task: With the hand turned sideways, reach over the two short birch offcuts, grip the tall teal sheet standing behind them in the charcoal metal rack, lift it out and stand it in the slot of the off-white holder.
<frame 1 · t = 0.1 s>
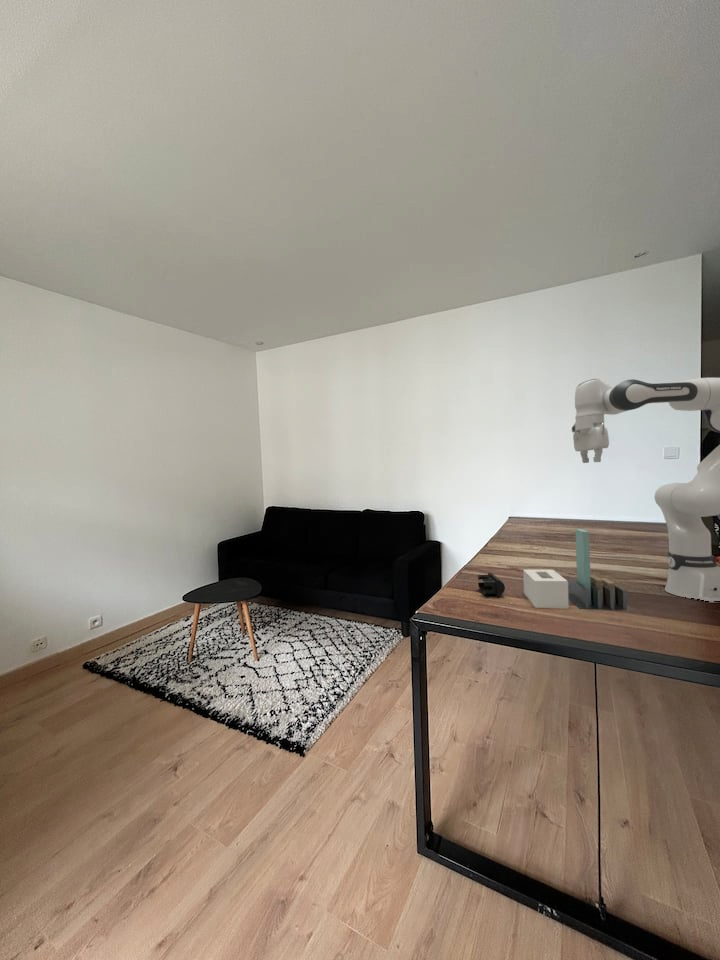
hand: (591, 462, 133), 48 cm above the table, tool pointing down, fingers open, 8 cm apart
rack: (596, 604, 122), on the table
offcut tall: (596, 601, 122), point 1 cm above the table, touching rack
holder: (545, 603, 125), on the table
tall sheet: (584, 601, 123), point 1 cm above the table, touching rack
end cap: (491, 594, 138), on the table
offcut small: (607, 601, 122), point 1 cm above the table, touching rack
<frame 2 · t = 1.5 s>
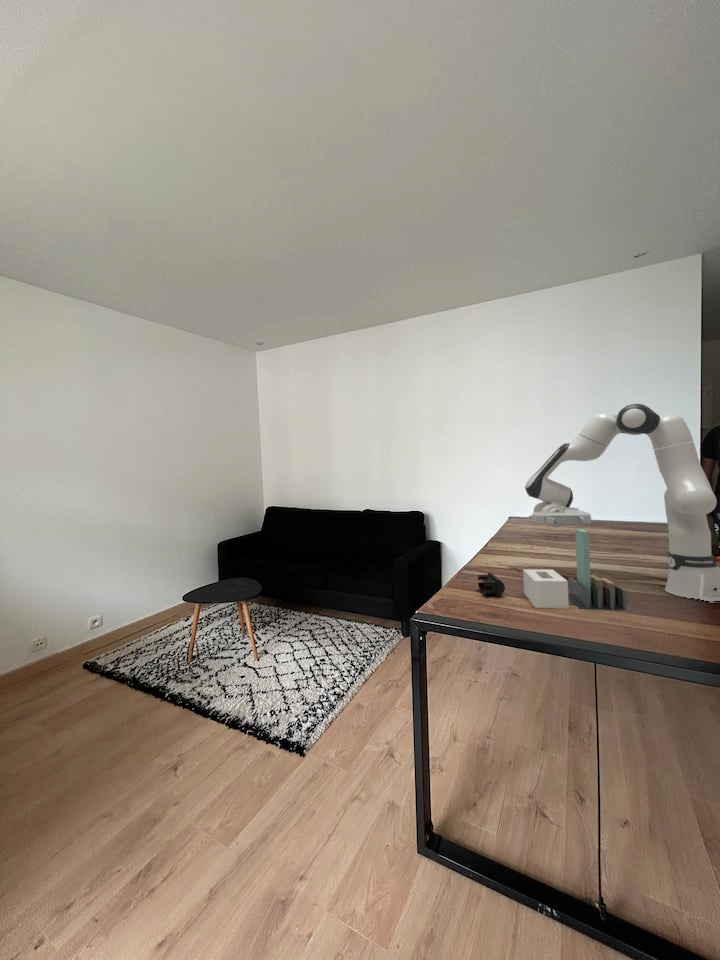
hand: (568, 521, 134), 27 cm above the table, tool horizontal, fingers open, 8 cm apart
nothing on the table moved.
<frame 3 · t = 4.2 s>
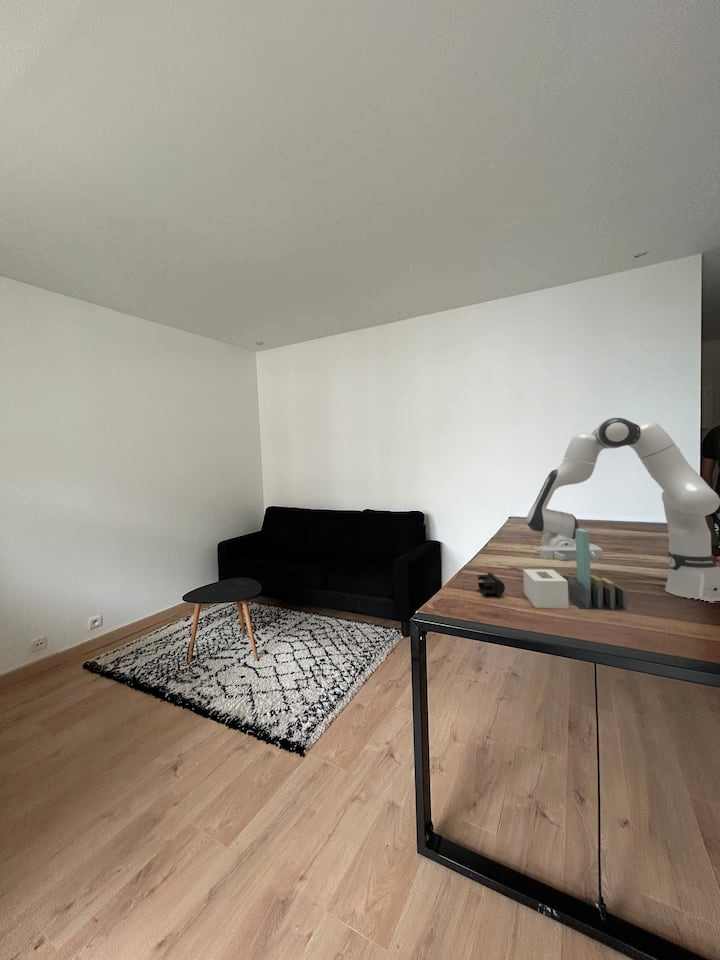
hand: (578, 557, 126), 15 cm above the table, tool horizontal, fingers open, 8 cm apart
nothing on the table moved.
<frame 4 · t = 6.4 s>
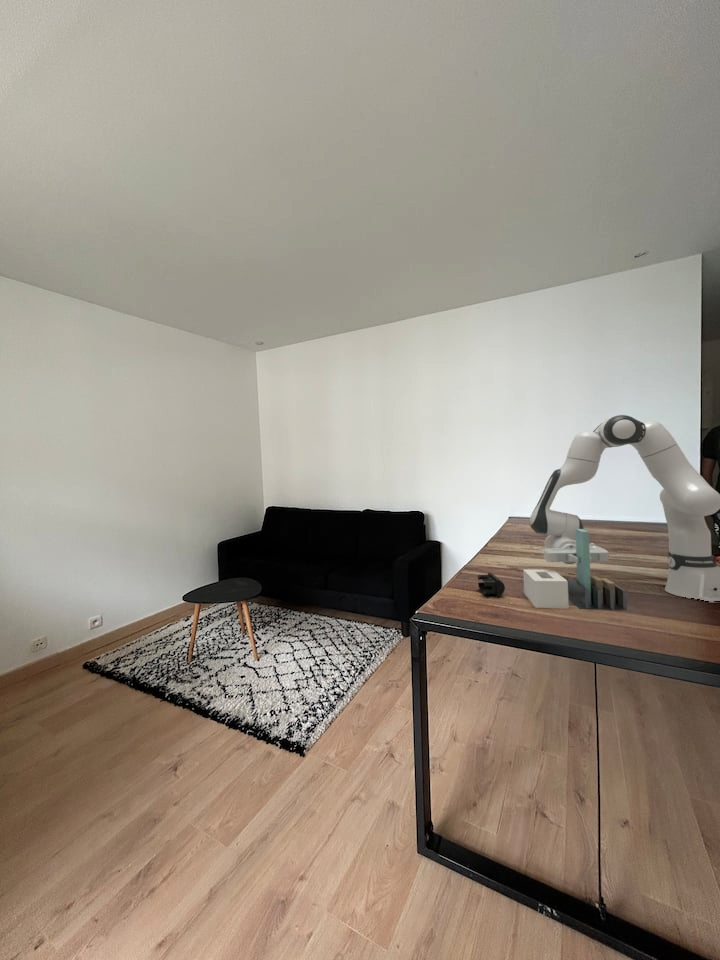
hand: (584, 560, 122), 15 cm above the table, tool horizontal, fingers closed on tall sheet, 2 cm apart
tall sheet: (584, 601, 123), point 1 cm above the table, touching gripper, rack
everything else where it was.
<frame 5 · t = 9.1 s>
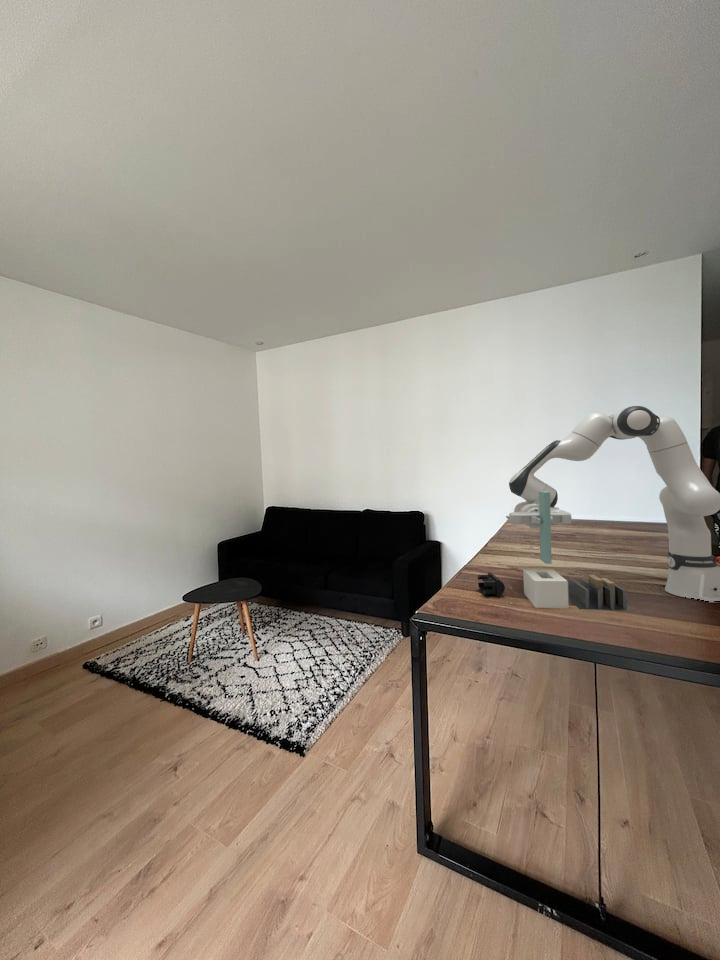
hand: (545, 521, 124), 29 cm above the table, tool horizontal, fingers closed on tall sheet
tall sheet: (545, 561, 125), point 15 cm above the table, touching gripper
everything else where it was.
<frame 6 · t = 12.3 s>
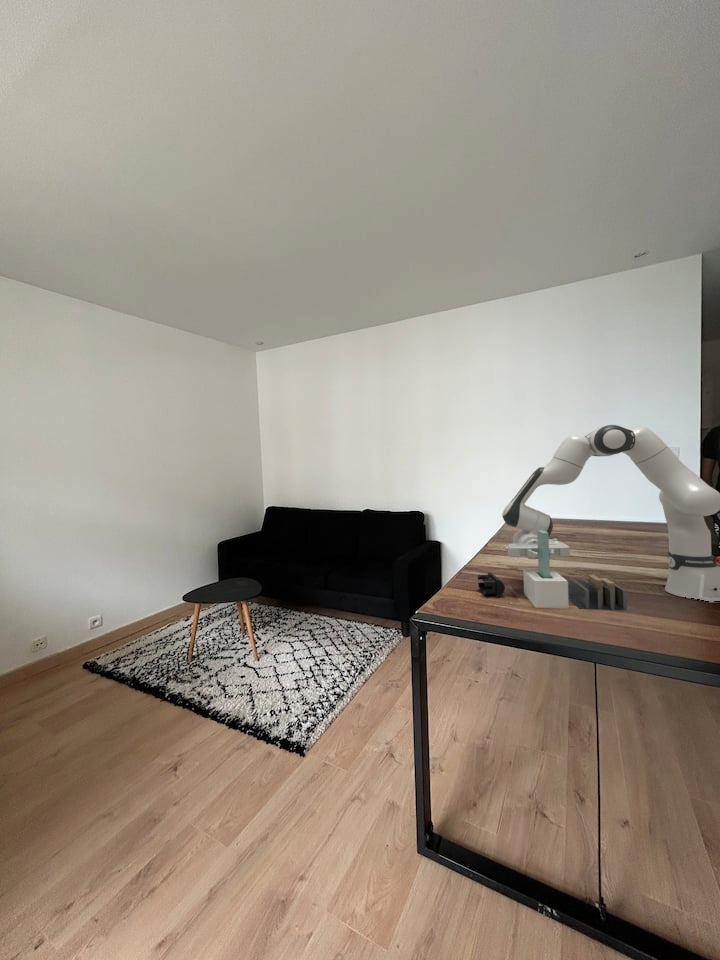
hand: (544, 555, 124), 17 cm above the table, tool horizontal, fingers open, 4 cm apart
tall sheet: (545, 600, 125), point 1 cm above the table, touching holder
everything else where it was.
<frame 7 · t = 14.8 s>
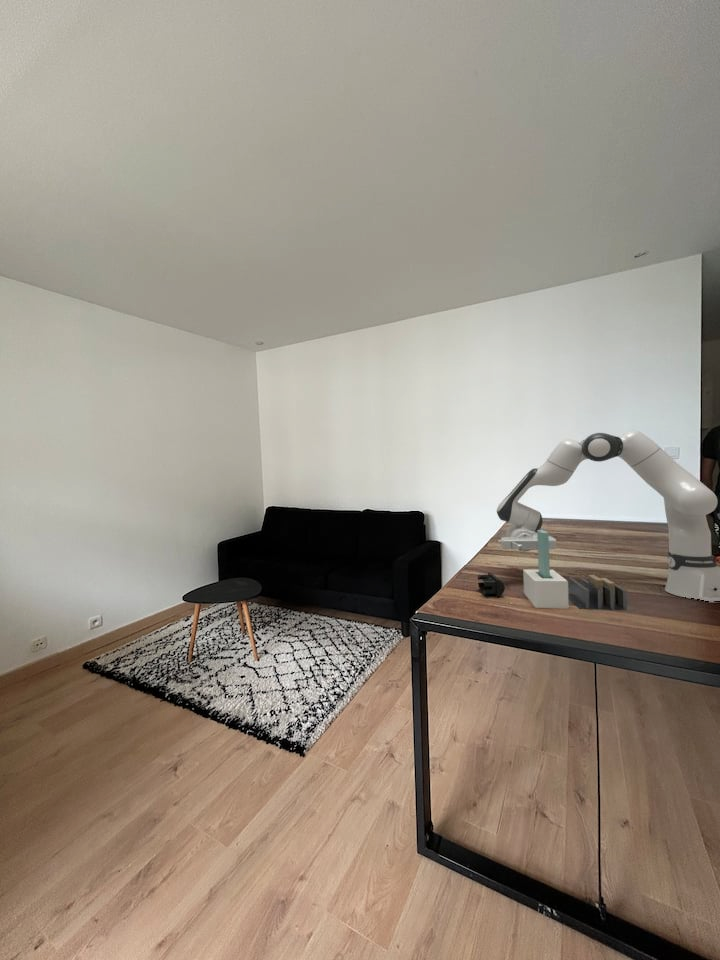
hand: (533, 547, 137), 17 cm above the table, tool horizontal, fingers open, 8 cm apart
nothing on the table moved.
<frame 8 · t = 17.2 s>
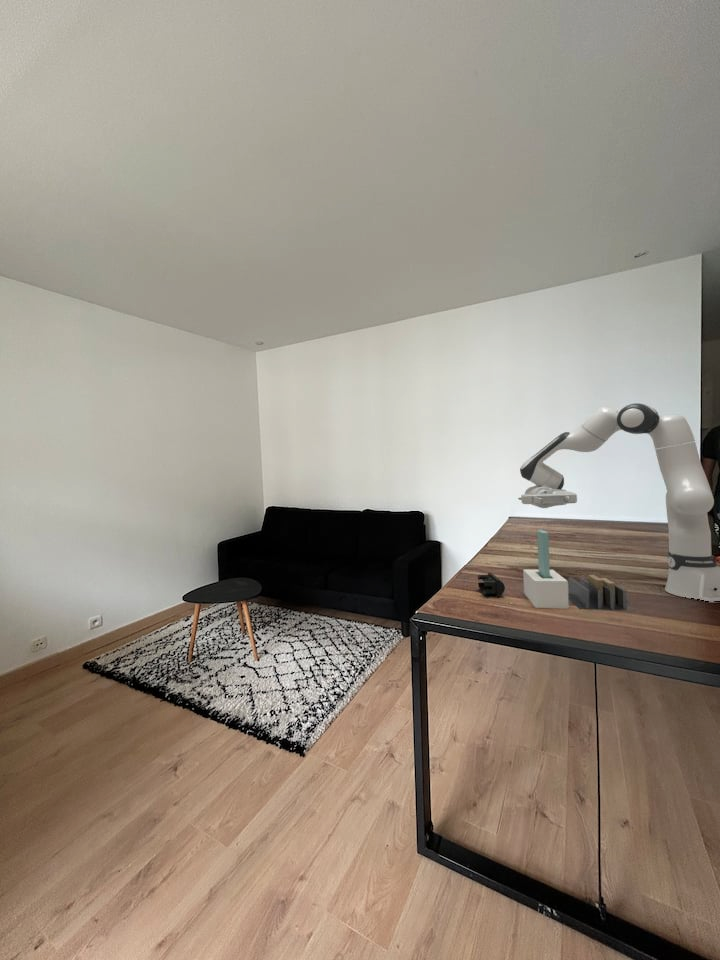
hand: (554, 500, 141), 34 cm above the table, tool horizontal, fingers open, 8 cm apart
nothing on the table moved.
at the end: tall sheet inside the target area on the holder (0.0 cm from its centre), point 1.0 cm above the holder's base; tall sheet tilted 0°; offcut tall moved 0.0 cm from its start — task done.
